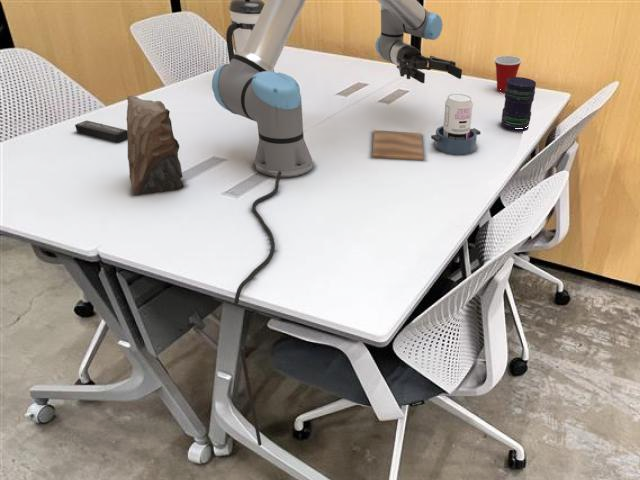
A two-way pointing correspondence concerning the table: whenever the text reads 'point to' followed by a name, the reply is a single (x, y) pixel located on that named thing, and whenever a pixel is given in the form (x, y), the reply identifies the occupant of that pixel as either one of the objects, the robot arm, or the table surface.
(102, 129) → the multiport hub
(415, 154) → the wooden board
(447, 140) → the pot
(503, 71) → the plastic cup
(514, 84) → the storage jar
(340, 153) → the table surface
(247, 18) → the coffee press
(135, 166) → the brown rock
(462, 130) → the supplement can
